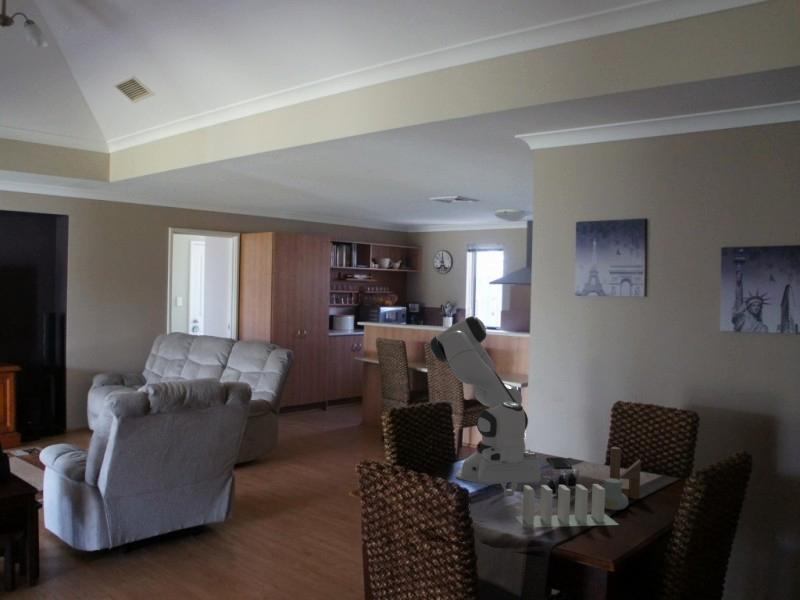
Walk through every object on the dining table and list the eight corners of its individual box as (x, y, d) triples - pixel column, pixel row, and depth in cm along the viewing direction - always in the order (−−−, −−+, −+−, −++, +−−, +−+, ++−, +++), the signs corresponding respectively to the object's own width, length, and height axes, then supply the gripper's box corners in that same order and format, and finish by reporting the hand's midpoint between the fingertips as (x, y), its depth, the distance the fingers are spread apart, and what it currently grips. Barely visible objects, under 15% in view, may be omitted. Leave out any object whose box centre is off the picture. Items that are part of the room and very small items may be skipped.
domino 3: (563, 523, 220) (565, 490, 220) (557, 517, 226) (558, 484, 226) (569, 523, 221) (570, 490, 220) (562, 517, 226) (563, 484, 226)
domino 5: (598, 522, 222) (599, 489, 222) (591, 516, 228) (592, 484, 227) (603, 522, 223) (605, 489, 222) (596, 516, 228) (597, 484, 228)
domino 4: (581, 523, 221) (582, 489, 221) (574, 517, 227) (575, 484, 227) (586, 523, 222) (587, 489, 221) (579, 517, 227) (580, 484, 227)
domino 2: (546, 524, 220) (547, 490, 219) (540, 518, 225) (541, 485, 225) (551, 524, 220) (552, 490, 219) (545, 517, 225) (546, 485, 225)
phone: (563, 457, 304) (572, 467, 289) (563, 460, 304) (572, 469, 289) (545, 457, 304) (554, 466, 289) (545, 459, 304) (554, 469, 289)
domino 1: (528, 524, 219) (529, 490, 218) (522, 518, 224) (523, 485, 224) (533, 524, 219) (534, 490, 219) (527, 518, 224) (529, 485, 224)
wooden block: (639, 499, 251) (641, 451, 250) (608, 496, 253) (610, 448, 252) (638, 496, 254) (640, 448, 254) (608, 493, 257) (610, 446, 256)
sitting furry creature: (530, 458, 304) (531, 431, 304) (511, 457, 306) (512, 430, 305) (530, 453, 314) (531, 427, 313) (511, 452, 315) (512, 426, 315)
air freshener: (630, 508, 241) (631, 480, 240) (625, 515, 233) (626, 486, 233) (599, 502, 246) (600, 475, 246) (593, 508, 239) (594, 480, 239)
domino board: (524, 530, 216) (524, 527, 216) (514, 519, 226) (514, 516, 226) (618, 527, 221) (619, 524, 221) (605, 516, 231) (605, 513, 231)
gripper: (537, 450, 225) (536, 491, 225) (477, 450, 222) (476, 492, 222) (544, 455, 218) (543, 497, 219) (482, 455, 215) (481, 498, 216)
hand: (508, 495), depth 220 cm, fingers closed
